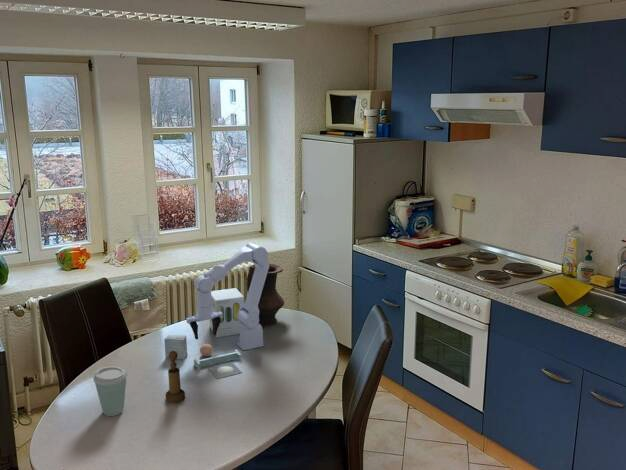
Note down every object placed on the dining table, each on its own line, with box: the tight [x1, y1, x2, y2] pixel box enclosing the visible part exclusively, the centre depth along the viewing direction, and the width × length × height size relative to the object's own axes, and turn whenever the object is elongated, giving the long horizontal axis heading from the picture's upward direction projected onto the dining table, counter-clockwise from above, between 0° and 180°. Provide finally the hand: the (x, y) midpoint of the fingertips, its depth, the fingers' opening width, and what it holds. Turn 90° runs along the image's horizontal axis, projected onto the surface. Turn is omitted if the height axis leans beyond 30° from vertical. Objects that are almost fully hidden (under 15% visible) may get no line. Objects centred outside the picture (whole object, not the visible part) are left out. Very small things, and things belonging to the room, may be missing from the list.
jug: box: [244, 263, 285, 327], centre depth 269 cm, size 21×18×30 cm
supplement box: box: [209, 287, 245, 338], centre depth 262 cm, size 13×13×18 cm
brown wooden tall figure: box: [165, 351, 186, 405], centre depth 202 cm, size 7×6×18 cm
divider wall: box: [193, 349, 242, 371], centre depth 232 cm, size 18×5×2 cm, turn 119°
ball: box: [199, 343, 213, 357], centre depth 237 cm, size 5×5×5 cm
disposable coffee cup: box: [93, 365, 128, 417], centre depth 194 cm, size 11×11×15 cm
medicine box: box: [163, 334, 188, 360], centre depth 236 cm, size 8×4×9 cm, turn 84°
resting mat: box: [208, 362, 243, 380], centre depth 225 cm, size 10×10×1 cm
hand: (205, 336), depth 236 cm, fingers open, 7 cm apart
